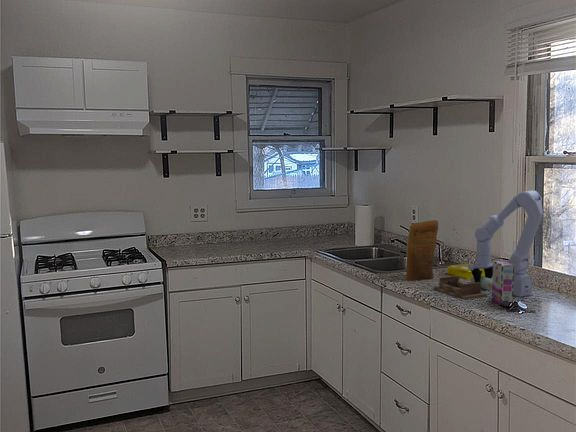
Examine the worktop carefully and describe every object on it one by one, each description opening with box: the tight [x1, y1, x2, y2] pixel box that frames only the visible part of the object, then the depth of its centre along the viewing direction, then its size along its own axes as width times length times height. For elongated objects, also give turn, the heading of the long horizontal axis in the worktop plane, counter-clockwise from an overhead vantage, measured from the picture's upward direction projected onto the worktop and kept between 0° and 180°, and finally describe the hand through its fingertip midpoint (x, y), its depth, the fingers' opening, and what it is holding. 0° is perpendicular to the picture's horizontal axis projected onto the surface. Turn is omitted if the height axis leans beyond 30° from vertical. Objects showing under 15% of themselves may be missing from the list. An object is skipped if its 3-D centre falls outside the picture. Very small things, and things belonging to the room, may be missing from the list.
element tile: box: [446, 262, 485, 280], centre depth 282 cm, size 15×15×5 cm
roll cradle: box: [433, 275, 488, 300], centre depth 246 cm, size 20×12×6 cm, turn 22°
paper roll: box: [470, 276, 493, 291], centre depth 255 cm, size 10×5×5 cm, turn 22°
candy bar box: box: [491, 260, 514, 306], centre depth 228 cm, size 11×5×16 cm, turn 178°
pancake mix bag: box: [405, 219, 439, 282], centre depth 272 cm, size 7×19×28 cm, turn 115°
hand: (482, 284), depth 255 cm, fingers closed on paper roll, 5 cm apart
